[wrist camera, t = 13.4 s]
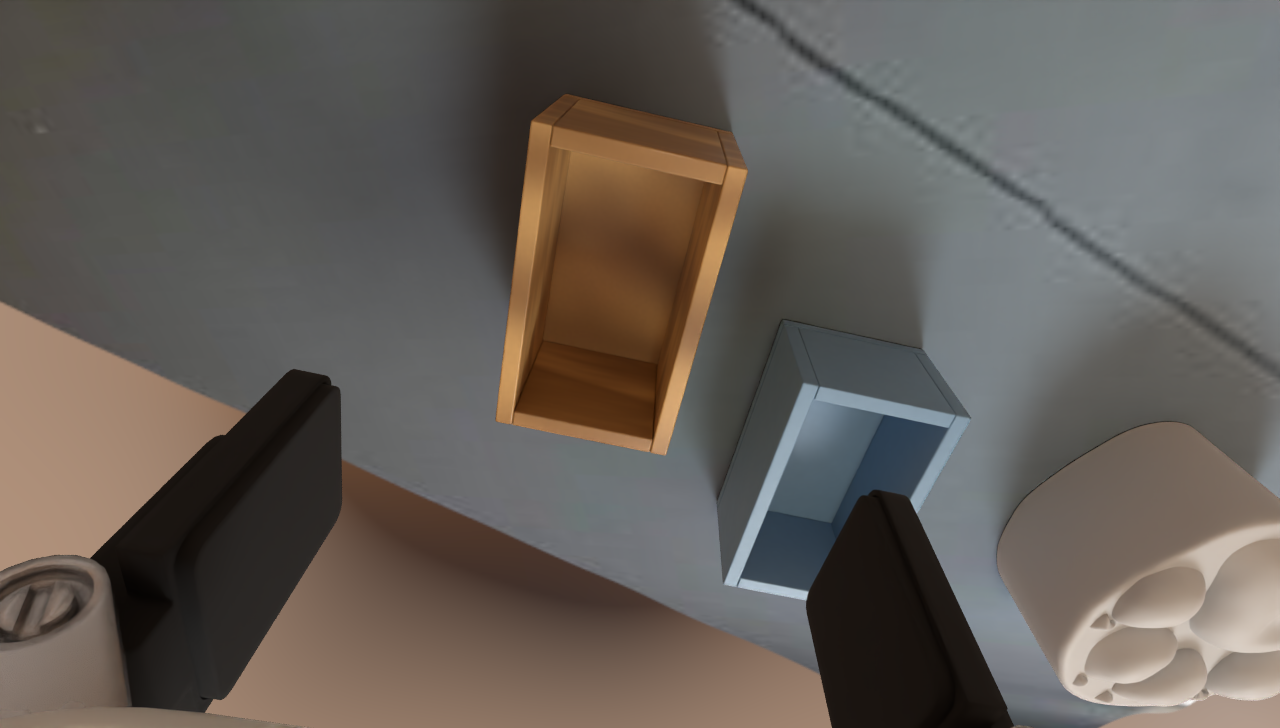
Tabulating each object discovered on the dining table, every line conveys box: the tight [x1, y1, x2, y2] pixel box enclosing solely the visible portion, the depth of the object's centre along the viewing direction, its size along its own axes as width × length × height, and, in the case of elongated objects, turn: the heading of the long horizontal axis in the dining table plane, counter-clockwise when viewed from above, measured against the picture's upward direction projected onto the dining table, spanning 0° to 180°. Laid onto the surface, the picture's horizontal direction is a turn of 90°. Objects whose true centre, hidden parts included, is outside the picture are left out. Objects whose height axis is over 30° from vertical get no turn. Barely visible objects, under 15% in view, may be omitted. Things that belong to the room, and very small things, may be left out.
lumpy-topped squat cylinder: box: [997, 422, 1280, 706], centre depth 32 cm, size 10×13×9 cm
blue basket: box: [717, 320, 971, 601], centre depth 32 cm, size 12×7×6 cm, turn 168°
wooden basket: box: [496, 94, 748, 455], centre depth 27 cm, size 12×7×7 cm, turn 168°
